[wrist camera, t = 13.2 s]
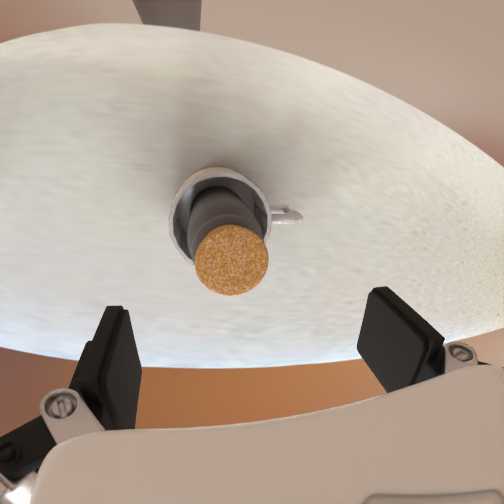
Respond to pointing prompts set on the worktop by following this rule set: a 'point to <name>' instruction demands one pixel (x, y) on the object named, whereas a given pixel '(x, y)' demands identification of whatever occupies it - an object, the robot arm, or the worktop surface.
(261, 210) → the mug
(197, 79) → the worktop surface
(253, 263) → the bottle
